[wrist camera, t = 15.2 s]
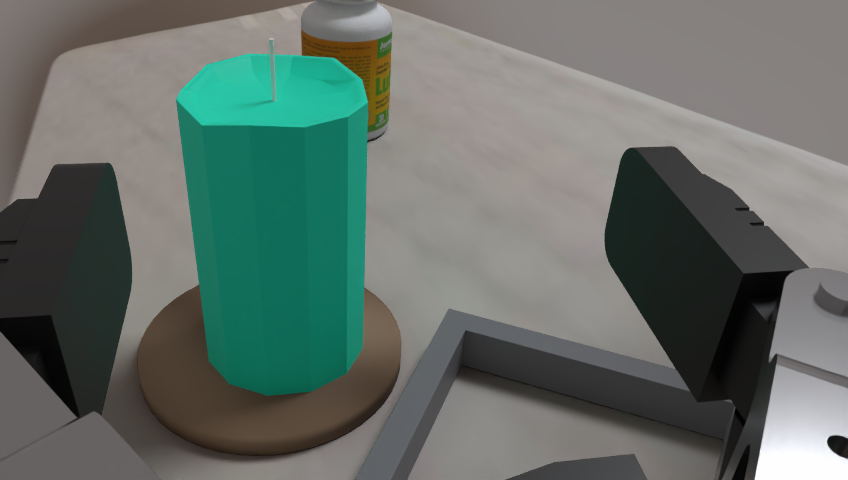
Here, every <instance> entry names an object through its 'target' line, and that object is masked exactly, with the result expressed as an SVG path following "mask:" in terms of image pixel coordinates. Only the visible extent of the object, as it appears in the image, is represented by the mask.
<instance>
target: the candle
mask: <svg viewBox="0 0 848 480" xmlns="http://www.w3.org/2000/svg"><path fill="white" fill-rule="evenodd" d="M269 50H270V54H246V55H242V56H238V57H234V58H230V59H226V60H223V61H219V62H215V63H211V64H207V65H206V66H205V67H204V68H203V69H202V70H201V71H200V72H199V73H198V74H197V75H196V76H195V77H194V78H193V79H192V80H191V81H190V82H189V83H188V84H187V85H186V86H185V87H184V88H183V89H182V90H181V91H180V93H179V95H178V97H177V99H176V102H177V111H178V119H179V127H180V135H181V143H182V151H183V159H184V167H185V175H186V183H187V191H188V199H189V207H190V215H191V223H192V231H193V239H194V247H195V255H196V263H197V271H198V279H199V287H200V295H201V303H202V311H203V319H204V327H205V335H206V343H207V351H208V359H209V362H210V363H211V364H212V365H213V366H214V367H215V368H216V370H217V371H218V372H219V373H220V374H221V375H222V376H223V377H224V379H225V380H226V381H227V382H228V383H229V384H231V385H234V386H237V387H241V388H244V389H247V390H250V391H254V392H257V393H260V394H264V395H267V396H271V395H282V394H293V393H304V392H312V391H314V390H316V389H318V388H320V387H322V386H324V385H326V384H328V383H330V382H332V381H333V380H335V379H337V378H339V377H341V376H343V375H345V374H347V372H348V371H349V369H350V368H351V366H352V364H353V363H354V361H355V360H356V358H357V357H358V355H359V353H360V352H361V350H362V349H363V318H364V271H365V225H366V178H367V131H368V100H367V96H366V93H365V89H364V85H363V81H362V79H361V78H360V77H358V76H357V75H356V74H354V73H353V72H352V71H351V70H349V69H348V68H347V67H345V66H344V65H343V64H342V63H340V62H339V61H338V60H337V59H335V58H328V57H313V56H299V55H274V39H273V38H270V39H269Z"/></svg>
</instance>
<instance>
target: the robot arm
mask: <svg viewBox="0 0 848 480" xmlns="http://www.w3.org/2000/svg"><path fill="white" fill-rule="evenodd" d="M605 250H606V255H607V258H608V261H609V263H610V265H611V267H612V268H613V270H614V272H615V273H616V275H617V276H618V278H619V279H620V281H621V283H622V284H623V286H624V287H625V289H626V290H627V292H628V294H629V295H630V297H631V298H632V300H633V302H634V303H635V305H636V306H637V308H638V309H639V311H640V313H641V314H642V316H643V317H644V319H645V321H646V322H647V324H648V325H649V327H650V328H651V330H652V332H653V333H654V335H655V336H656V338H657V340H658V341H659V343H660V344H661V346H662V347H663V349H664V351H665V352H666V354H667V355H668V357H669V359H670V360H671V362H672V363H673V365H674V366H675V368H676V370H677V371H678V373H679V374H680V376H681V377H682V379H683V381H684V382H685V384H686V385H687V387H688V389H689V390H690V392H691V393H692V395H693V396H694V398H695V400H696V401H697V403H699V402H709V401H720V400H731V401H732V403H733V404H734V405H735V407H734V410H733V412H732V415H731V417H730V420H729V422H728V425H727V429H726V433H725V437H724V442H723V446H722V450H721V454H720V458H719V462H718V466H717V470H716V474H715V478H714V480H848V274H846V273H843V272H839V271H835V270H830V269H824V268H809V267H808V266H807V265H806V264H805V263H804V262H803V261H802V260H801V259H800V258H799V257H798V256H797V255H796V254H795V253H794V252H793V251H792V250H791V249H790V248H789V247H788V246H787V245H786V244H785V243H784V242H783V241H782V240H781V239H780V238H779V237H778V236H777V235H776V234H775V233H774V232H773V231H772V230H771V229H770V228H769V227H768V226H764V222H763V221H762V220H761V219H760V218H759V217H758V216H757V215H756V214H755V213H754V212H753V211H749V207H748V206H747V205H746V204H745V203H744V202H743V200H742V199H741V198H740V197H739V196H738V195H737V194H736V193H735V192H734V191H733V190H732V189H730V188H728V187H726V186H724V185H723V184H721V183H719V182H717V181H716V180H714V179H712V178H710V177H708V176H707V175H705V174H701V172H700V171H699V170H698V169H697V168H696V167H695V166H694V165H693V164H692V163H691V162H690V161H689V160H688V159H687V158H686V157H685V156H684V155H683V154H682V153H681V152H680V151H679V150H678V149H677V148H676V147H671V146H670V147H638V148H629V149H627V150H626V151H625V152H624V154H623V156H622V158H621V161H620V165H619V169H618V174H617V178H616V183H615V187H614V192H613V196H612V201H611V205H610V210H609V214H608V219H607V223H606V228H605ZM131 285H132V261H131V252H130V247H129V242H128V236H127V231H126V226H125V221H124V216H123V211H122V206H121V201H120V196H119V191H118V185H117V180H116V176H115V172H114V170H113V167H112V165H111V164H110V163H86V164H57V165H54V166H53V168H52V170H51V172H50V174H49V176H48V178H47V180H46V182H45V184H44V186H43V189H42V191H41V193H40V195H39V197H38V198H37V199H17V200H16V201H15V202H13V203H12V204H11V205H9V206H8V207H7V208H6V209H4V210H3V211H2V212H0V480H161V479H160V478H159V477H158V476H157V475H156V474H155V473H154V472H153V470H152V469H151V468H150V467H149V466H148V465H147V464H146V463H145V462H144V461H143V460H142V459H141V458H140V456H139V455H138V454H137V453H136V452H135V451H134V450H133V449H132V448H131V447H130V446H129V445H128V443H127V442H126V441H125V440H124V439H123V438H122V437H121V436H120V435H119V434H118V433H117V432H116V431H115V429H114V428H113V427H112V426H111V425H110V424H109V423H108V422H107V421H106V420H105V419H104V418H103V417H102V416H101V414H102V410H103V406H104V402H105V398H106V393H107V389H108V385H109V381H110V376H111V372H112V368H113V364H114V360H115V355H116V351H117V347H118V343H119V339H120V334H121V330H122V326H123V322H124V317H125V313H126V309H127V305H128V301H129V296H130V292H131ZM506 480H647V478H646V476H645V475H644V473H643V471H642V469H641V467H640V465H639V463H638V461H637V459H636V457H635V455H634V454H629V455H620V456H610V457H601V458H591V459H582V460H572V461H563V462H554V463H551V464H548V465H545V466H543V467H540V468H537V469H534V470H531V471H529V472H526V473H523V474H520V475H517V476H515V477H512V478H509V479H506Z"/></svg>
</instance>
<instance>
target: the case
mask: <svg viewBox="0 0 848 480" xmlns="http://www.w3.org/2000/svg"><path fill="white" fill-rule="evenodd" d="M461 365H463V366H467V367H470V368H474V369H477V370H481V371H484V372H488V373H491V374H495V375H498V376H502V377H505V378H509V379H512V380H516V381H519V382H523V383H526V384H530V385H533V386H537V387H540V388H544V389H547V390H551V391H554V392H558V393H561V394H565V395H568V396H572V397H575V398H579V399H582V400H586V401H589V402H593V403H596V404H600V405H603V406H607V407H610V408H614V409H617V410H621V411H624V412H628V413H631V414H635V415H638V416H642V417H645V418H649V419H652V420H656V421H659V422H663V423H666V424H670V425H673V426H677V427H680V428H684V429H687V430H691V431H694V432H698V433H701V434H705V435H708V436H712V437H715V438H719V439H722V440H724V437H725V433H726V429H727V425H728V422H729V420H730V417H731V415H732V412H733V410H734V407H735V405H734V404H733V403H732V401H731V400H720V401H709V402H699V403H697V401H696V400H695V398H694V396H693V395H692V393H691V392H690V390H689V389H688V387H687V385H686V384H685V382H684V381H683V379H682V377H681V376H680V374H679V373H678V371H677V370H676V369H673V368H669V367H665V366H661V365H658V364H654V363H650V362H646V361H643V360H639V359H635V358H632V357H628V356H624V355H620V354H617V353H613V352H609V351H605V350H602V349H598V348H594V347H590V346H587V345H583V344H579V343H575V342H572V341H568V340H564V339H560V338H557V337H553V336H549V335H545V334H542V333H538V332H534V331H530V330H527V329H523V328H519V327H516V326H512V325H508V324H504V323H501V322H497V321H493V320H489V319H486V318H482V317H478V316H474V315H471V314H467V313H463V312H459V311H456V310H452V309H449V310H448V311H447V313H446V315H445V317H444V319H443V320H442V322H441V324H440V326H439V328H438V330H437V331H436V333H435V335H434V337H433V339H432V341H431V342H430V344H429V346H428V348H427V350H426V351H425V353H424V355H423V357H422V359H421V361H420V362H419V364H418V366H417V368H416V370H415V372H414V373H413V375H412V377H411V379H410V381H409V383H408V384H407V386H406V388H405V390H404V392H403V393H402V395H401V397H400V399H399V401H398V403H397V404H396V406H395V408H394V410H393V412H392V414H391V415H390V417H389V419H388V421H387V423H386V424H385V426H384V428H383V430H382V432H381V434H380V435H379V437H378V439H377V441H376V443H375V445H374V446H373V448H372V450H371V452H370V454H369V455H368V457H367V459H366V461H365V463H364V465H363V466H362V468H361V470H360V472H359V474H358V476H357V477H356V479H355V480H407V479H408V476H409V474H410V472H411V470H412V468H413V466H414V464H415V462H416V460H417V457H418V455H419V453H420V451H421V449H422V447H423V445H424V443H425V441H426V438H427V436H428V434H429V432H430V430H431V428H432V426H433V424H434V422H435V420H436V417H437V415H438V413H439V411H440V409H441V407H442V405H443V403H444V401H445V398H446V396H447V394H448V392H449V390H450V388H451V386H452V384H453V382H454V380H455V377H456V375H457V373H458V371H459V369H460V367H461Z"/></svg>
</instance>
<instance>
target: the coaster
mask: <svg viewBox="0 0 848 480" xmlns="http://www.w3.org/2000/svg"><path fill="white" fill-rule="evenodd" d="M400 357H401V337H400V331H399V328H398V325H397V322H396V320H395V318H394V317H393V315H392V313H391V311H390V310H389V309H388V308H387V306H386V305H385V304H384V303H383V302H382V301H381V300H380V299H379V298H378V297H377V296H376V295H374V294H373V293H371V292H370V291H369V290H367V289H366V288H364V318H363V349H362V350H361V352H360V353H359V355H358V357H357V358H356V360H355V361H354V363H353V364H352V366H351V368H350V369H349V371H348V372H347V374H345V375H343V376H341V377H339V378H337V379H335V380H333V381H332V382H330V383H328V384H326V385H324V386H322V387H320V388H318V389H316V390H314V391H312V392H304V393H293V394H282V395H271V396H267V395H264V394H260V393H257V392H254V391H250V390H247V389H244V388H241V387H237V386H234V385H231V384H229V383H228V382H227V381H226V380H225V379H224V377H223V376H222V375H221V374H220V373H219V372H218V371H217V370H216V368H215V367H214V366H213V365H212V364H211V363H210V362H209V359H208V351H207V343H206V335H205V327H204V319H203V311H202V303H201V295H200V287H199V285H198V286H196V287H194V288H192V289H191V290H189V291H187V292H185V293H184V294H182V295H180V296H179V297H177V298H176V299H174V300H173V301H172V302H171V303H170V304H168V305H167V306H166V307H165V308H163V310H162V311H161V312H160V313H159V314H158V315H157V316H156V317H155V318H154V319H153V321H152V322H151V323H150V325H149V326H148V328H147V329H146V331H145V333H144V335H143V337H142V339H141V343H140V346H139V349H138V358H137V365H138V373H139V379H140V384H141V389H142V392H143V395H144V398H145V401H146V403H147V404H148V406H149V408H150V410H151V411H152V413H153V414H154V415H155V416H156V417H157V418H158V420H159V421H160V422H161V423H162V424H163V425H165V426H166V427H167V428H168V429H170V430H171V431H172V432H174V433H175V434H177V435H179V436H180V437H182V438H184V439H185V440H188V441H190V442H192V443H195V444H197V445H200V446H202V447H206V448H209V449H213V450H216V451H221V452H227V453H233V454H243V455H273V454H282V453H289V452H296V451H300V450H304V449H308V448H312V447H315V446H318V445H321V444H324V443H326V442H329V441H332V440H334V439H336V438H338V437H340V436H342V435H344V434H346V433H348V432H350V431H351V430H353V429H354V428H356V427H358V426H359V425H361V424H362V423H363V422H365V421H366V420H367V419H368V418H370V417H371V416H372V415H373V414H374V413H375V412H376V411H377V410H378V409H379V408H380V407H381V406H382V405H383V404H384V402H385V401H386V399H387V398H388V396H389V395H390V393H391V392H392V390H393V388H394V385H395V383H396V381H397V378H398V374H399V370H400Z"/></svg>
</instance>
